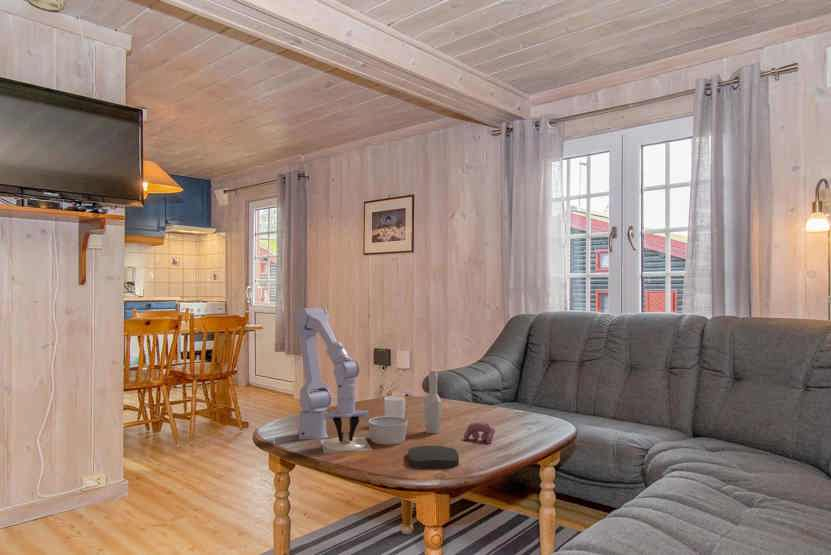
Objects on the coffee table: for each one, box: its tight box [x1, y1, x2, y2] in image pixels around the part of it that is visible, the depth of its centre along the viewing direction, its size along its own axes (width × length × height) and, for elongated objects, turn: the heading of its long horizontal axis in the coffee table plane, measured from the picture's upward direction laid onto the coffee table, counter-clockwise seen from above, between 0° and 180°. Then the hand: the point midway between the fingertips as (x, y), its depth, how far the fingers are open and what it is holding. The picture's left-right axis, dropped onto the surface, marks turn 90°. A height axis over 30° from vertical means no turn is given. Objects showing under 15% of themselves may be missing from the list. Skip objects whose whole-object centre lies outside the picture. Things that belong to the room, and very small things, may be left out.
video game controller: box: [463, 421, 496, 445], centre depth 191 cm, size 10×5×7 cm, turn 60°
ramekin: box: [367, 415, 409, 446], centre depth 189 cm, size 13×13×7 cm
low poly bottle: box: [423, 369, 443, 434], centre depth 201 cm, size 6×6×22 cm
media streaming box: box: [407, 444, 460, 469], centre depth 169 cm, size 15×15×3 cm
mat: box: [319, 436, 373, 454], centre depth 183 cm, size 15×15×1 cm
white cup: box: [383, 395, 406, 418], centre depth 211 cm, size 8×8×10 cm
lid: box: [324, 430, 368, 452], centre depth 182 cm, size 14×14×4 cm
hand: (345, 440), depth 182 cm, fingers closed on lid, 3 cm apart
